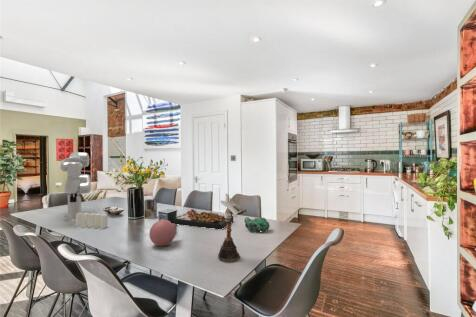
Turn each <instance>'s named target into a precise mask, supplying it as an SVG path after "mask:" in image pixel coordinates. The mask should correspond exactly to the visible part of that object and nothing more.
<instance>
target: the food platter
mask: <svg viewBox="0 0 476 317" xmlns="http://www.w3.org/2000/svg"><path fill="white" fill-rule="evenodd" d="M225 216H226V215H220V214H218V213H214V212H206V211H202V212H200V213H199V212H197V210H195V209H194V208H193V209H191V208H190V210H189V209H187V211H186V212H185V213H181V214H180V215H177V216H175V217H176V219H175V224H179V225H178V226H184V225H189V226H188V227H192V226H197V227H196V228H201V227H206V228H205V229H209V228H215V229H214V230H218V229H222V228H224V227H225V226H227V222H225V218H224V217H225ZM225 228H226V227H225ZM225 228H224V229H225ZM222 230H223V229H222Z"/></svg>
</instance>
